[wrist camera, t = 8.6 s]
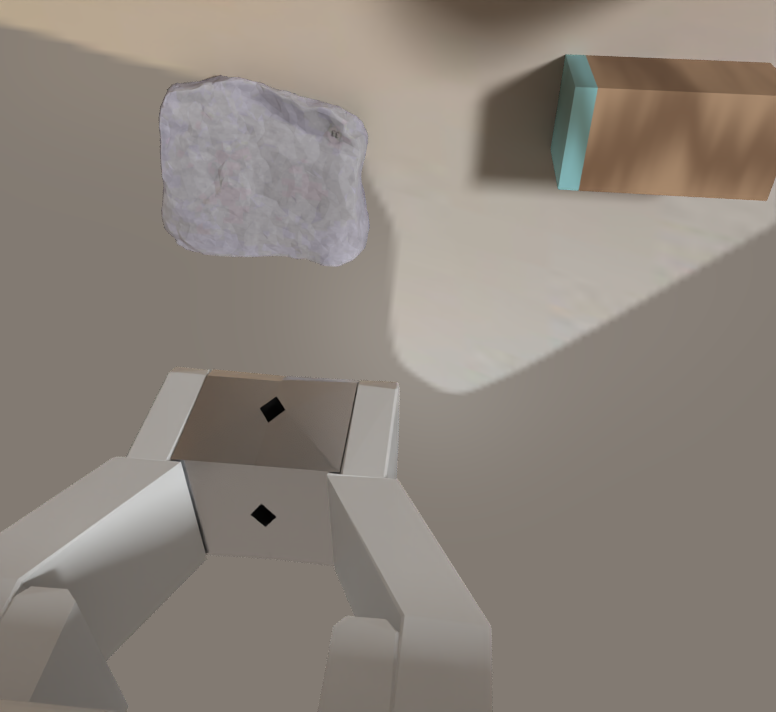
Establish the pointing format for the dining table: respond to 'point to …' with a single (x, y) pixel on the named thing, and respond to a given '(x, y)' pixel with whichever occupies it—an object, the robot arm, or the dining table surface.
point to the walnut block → (666, 127)
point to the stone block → (261, 172)
